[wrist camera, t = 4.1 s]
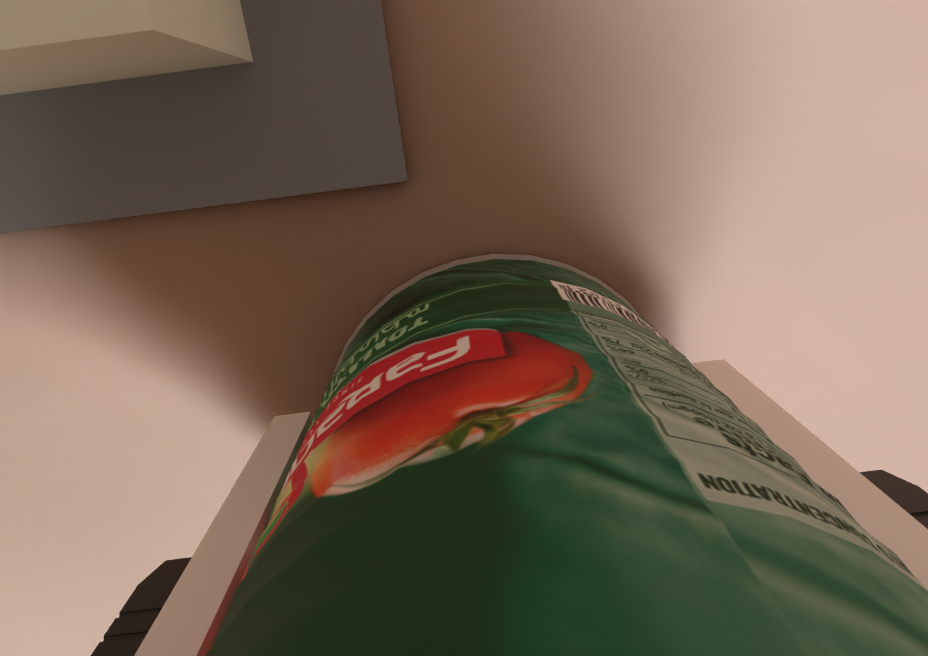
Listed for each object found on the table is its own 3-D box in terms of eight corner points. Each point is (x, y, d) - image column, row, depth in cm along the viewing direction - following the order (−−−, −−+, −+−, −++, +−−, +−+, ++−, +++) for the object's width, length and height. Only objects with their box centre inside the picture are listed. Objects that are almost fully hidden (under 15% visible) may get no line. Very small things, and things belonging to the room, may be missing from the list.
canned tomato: (617, 578, 15) (978, 1513, 5) (310, 537, 15) (-10, 1523, 4) (714, 284, 13) (1798, 913, 3) (352, 218, 12) (-148, 712, 2)
